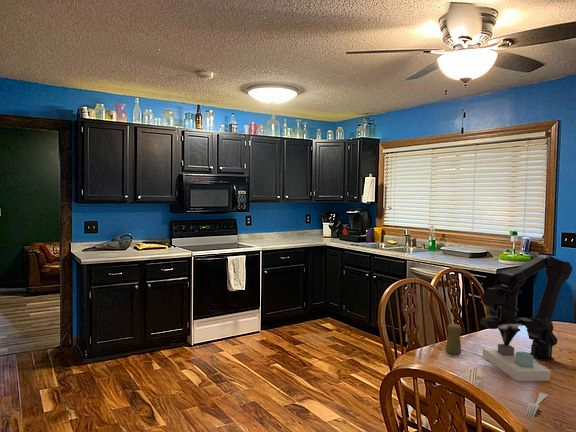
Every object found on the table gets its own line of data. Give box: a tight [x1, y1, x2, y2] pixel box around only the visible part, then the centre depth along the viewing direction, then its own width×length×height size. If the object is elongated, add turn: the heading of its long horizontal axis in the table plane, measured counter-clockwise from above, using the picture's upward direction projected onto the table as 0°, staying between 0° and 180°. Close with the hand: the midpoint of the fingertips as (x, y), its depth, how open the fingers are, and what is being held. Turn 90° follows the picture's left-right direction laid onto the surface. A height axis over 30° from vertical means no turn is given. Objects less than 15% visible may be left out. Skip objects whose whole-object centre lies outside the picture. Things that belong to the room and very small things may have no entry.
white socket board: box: [482, 347, 551, 382], centre depth 162 cm, size 12×22×4 cm, turn 6°
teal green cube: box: [515, 351, 535, 367], centre depth 156 cm, size 4×4×4 cm
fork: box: [525, 392, 549, 419], centre depth 134 cm, size 3×21×3 cm, turn 139°
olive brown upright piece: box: [445, 323, 462, 355], centre depth 177 cm, size 6×6×11 cm
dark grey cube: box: [497, 343, 515, 356], centre depth 167 cm, size 4×4×4 cm
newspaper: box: [463, 366, 484, 390], centre depth 148 cm, size 24×7×2 cm, turn 155°
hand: (506, 345), depth 167 cm, fingers closed
